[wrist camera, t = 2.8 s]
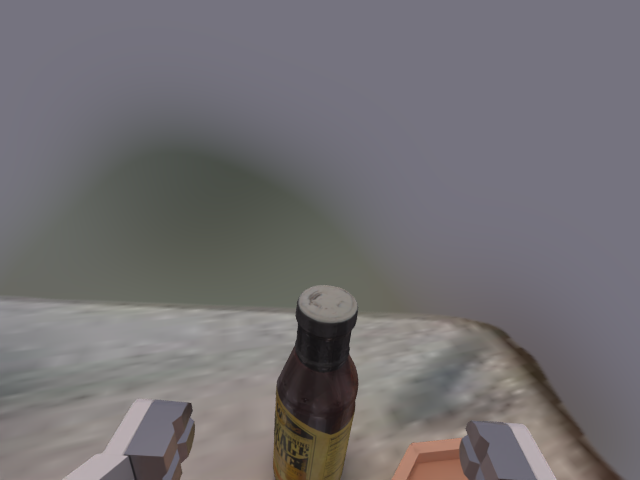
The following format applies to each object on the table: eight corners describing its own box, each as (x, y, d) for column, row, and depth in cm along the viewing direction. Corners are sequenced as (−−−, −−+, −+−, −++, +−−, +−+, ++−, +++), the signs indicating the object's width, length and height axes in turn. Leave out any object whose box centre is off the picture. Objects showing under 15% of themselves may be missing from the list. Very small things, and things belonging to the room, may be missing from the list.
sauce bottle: (263, 458, 33) (262, 281, 24) (321, 432, 35) (339, 265, 27) (290, 532, 27) (300, 341, 19) (356, 496, 30) (391, 314, 22)
